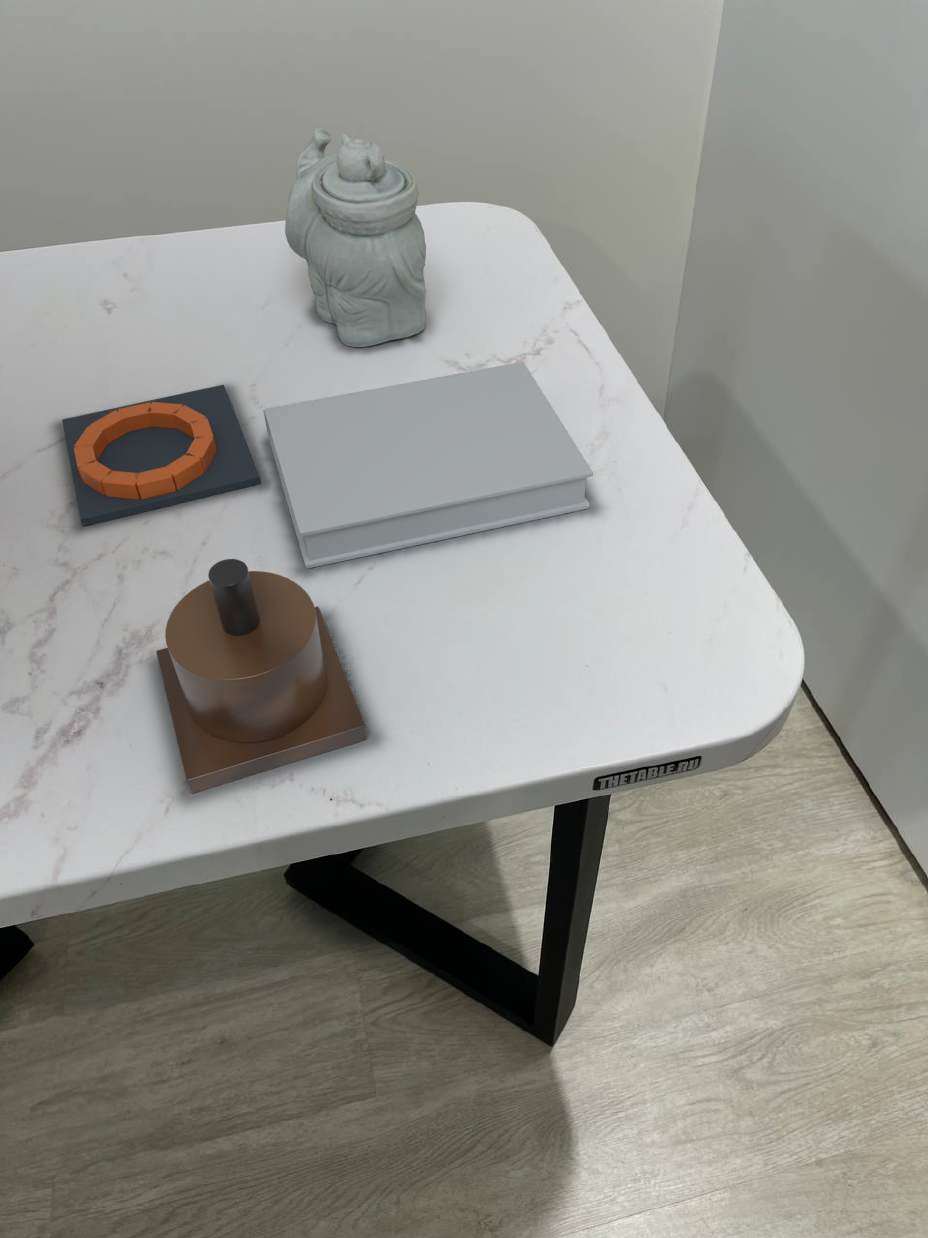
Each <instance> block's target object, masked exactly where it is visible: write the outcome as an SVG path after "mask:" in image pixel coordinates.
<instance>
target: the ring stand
mask: <svg viewBox="0 0 928 1238" xmlns="http://www.w3.org/2000/svg"><path fill="white" fill-rule="evenodd" d="M314 604H315V603H314V602H313V600H312V598H311V596H310V595H309V594H308V592H307V591H306V590H305V589H304V588H303V587H302V586H301V585H300V584H298V583H297V582H295V581H294V580H292V579H290V578H289V577H286V576H283V575H280V574H278V573H273V572H268V571H261V570H260V571H258V570H249V568H248V566H247V564H246V563H245V562H244V561H242V560H240V559H237V558H226V559H223V560H220V561H217V562H216V563H214V564H213V565H212V566H211V567H210V569H209V571H208V580H206V581H205V582H203V583H201V584H199V585H198V586H196V587H195V588H193V589H192V590H190V591H189V592H188V593H187V594H185V595H184V596H183V597H182V598H181V599H180V600H179V601H178V602H177V604H176V605H175V606H174V608H173V610H172V611H171V613H170V614H169V617H168V619H167V622H166V627H165V634H164V635H165V636H164V638H165V644H166V647H165V648H161V649H157V650H156V651H155V653H156V657H157V662H158V665H159V666H158V667H159V670H160V675H161V678H162V679H161V680H162V684H163V687H164V691H165V695H166V701H167V706H168V709H169V713H170V718H171V721H172V726H173V729H174V730H173V731H174V735H175V739H176V743H177V748H178V752H179V757H180V760H181V764H182V769H183V774H184V778H185V781H186V785H187V787H188V790H189V792H190V794H195V793H199V792H201V791H205V790H208V789H211V788H214V787H218V786H221V785H225V784H227V783H230V782H234V781H237V780H240V779H243V778H247V777H251V776H253V775H256V774H259V773H263V772H266V771H269V770H273V769H276V768H278V767H282V766H285V765H288V764H291V763H294V762H298V761H302V760H305V759H308V758H311V757H315V756H318V755H321V754H324V753H327V752H331V751H334V750H337V749H340V748H343V747H346V746H350V745H353V744H356V743H359V742H363V741H365V740H368V731H367V725H366V722H365V720H364V717H363V715H362V713H361V710H360V707H359V705H358V702H357V699H356V697H355V695H354V693H353V690H352V688H351V684H350V682H349V679H348V677H347V675H346V672H345V670H344V667H343V664H342V662H341V659H340V657H339V654H338V651H337V650H336V647H335V644H334V642H333V639H332V637H331V634H330V632H329V630H328V627H327V624H326V622H325V620H324V616H323V614H322V612H321V609H320V607H319V606H315V605H314Z"/></svg>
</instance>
